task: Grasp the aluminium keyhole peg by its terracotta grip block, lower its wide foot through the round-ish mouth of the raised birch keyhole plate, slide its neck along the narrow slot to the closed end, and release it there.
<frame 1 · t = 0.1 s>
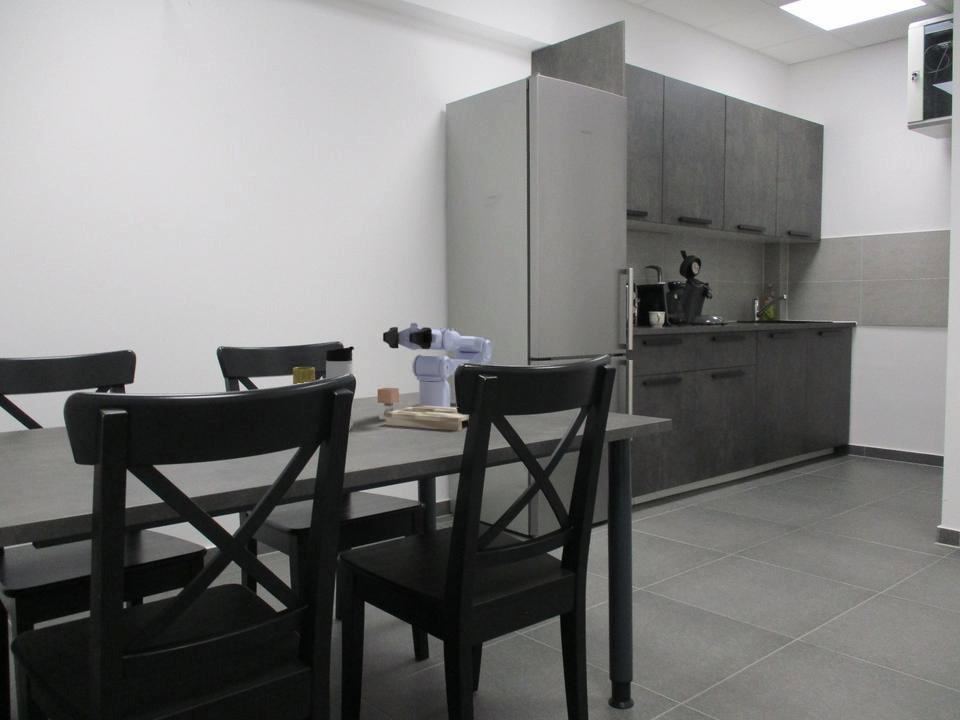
hand: (397, 337, 204), 22 cm above the table, tool horizontal, fingers open, 7 cm apart
keyhole peg: (388, 419, 209), on the table
travel mug: (340, 430, 192), on the table
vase: (304, 425, 199), on the table
keyhole plate: (436, 423, 203), on the table
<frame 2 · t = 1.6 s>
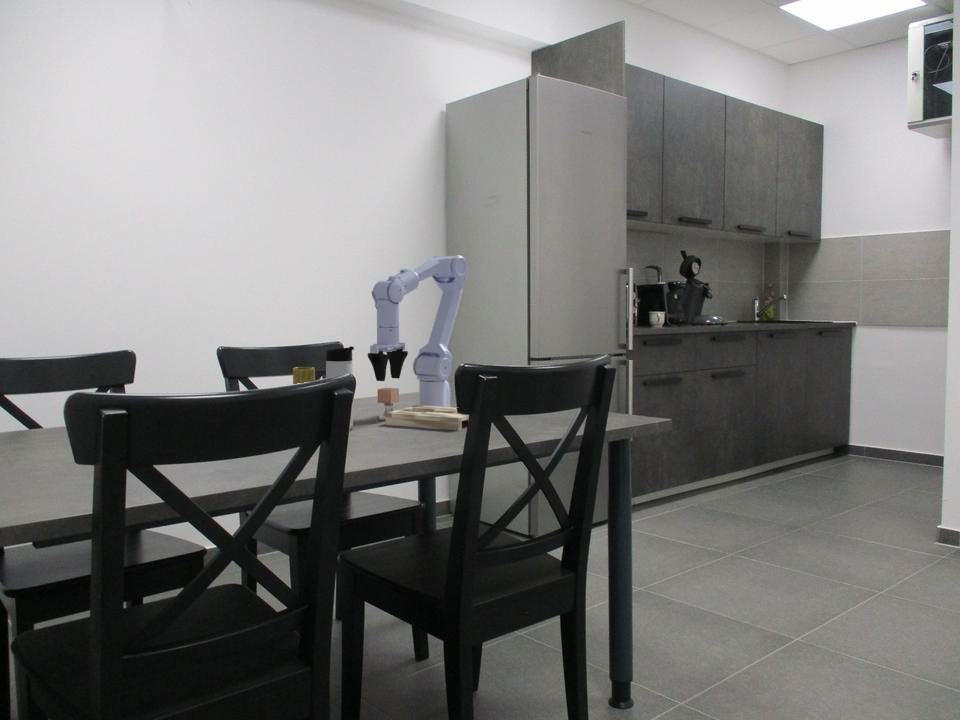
hand: (388, 379, 208), 10 cm above the table, tool pointing down, fingers open, 7 cm apart
nothing on the table moved.
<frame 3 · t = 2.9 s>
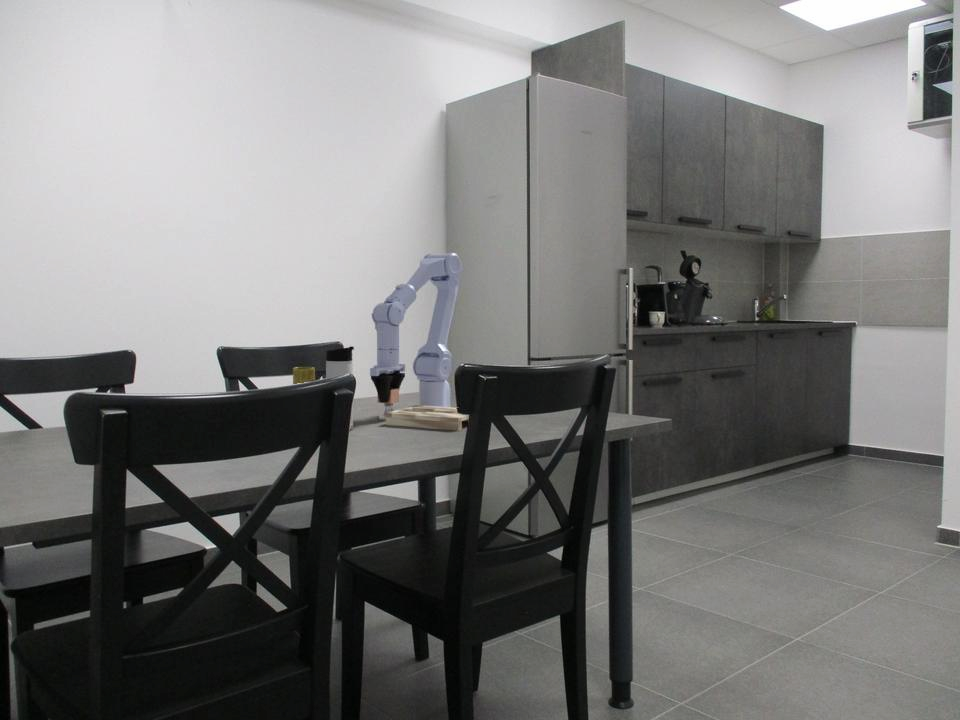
hand: (388, 401, 208), 5 cm above the table, tool pointing down, fingers closed on keyhole peg, 4 cm apart
keyhole peg: (388, 419, 209), on the table, touching gripper
everything else where it was.
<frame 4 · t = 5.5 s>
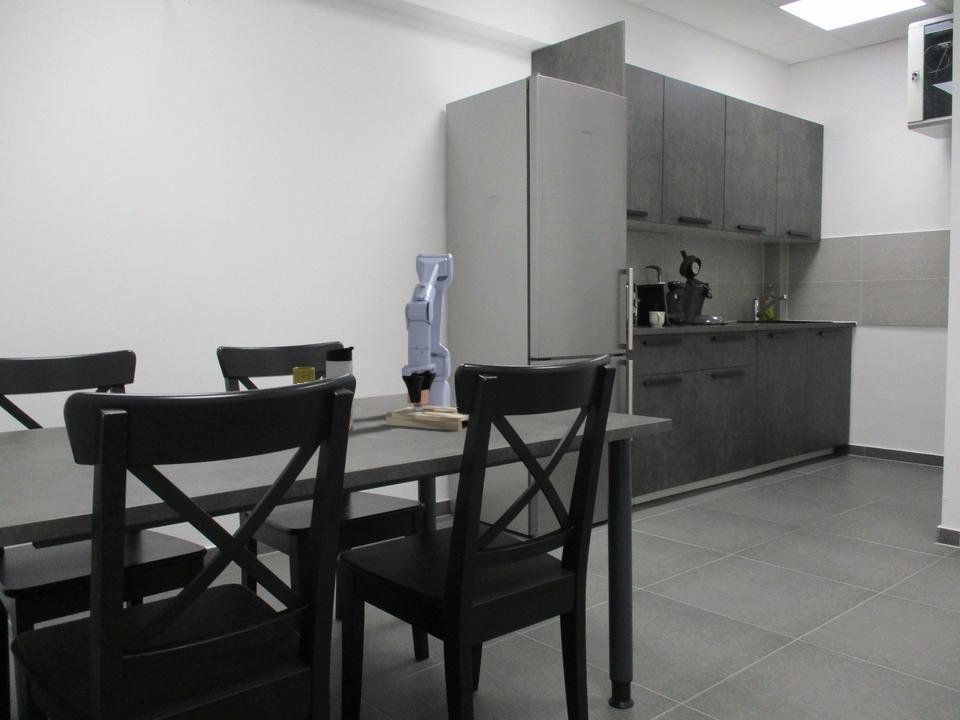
hand: (419, 401, 205), 5 cm above the table, tool pointing down, fingers closed on keyhole peg, 4 cm apart
keyhole peg: (417, 420, 205), on the table, touching gripper
everything else where it was.
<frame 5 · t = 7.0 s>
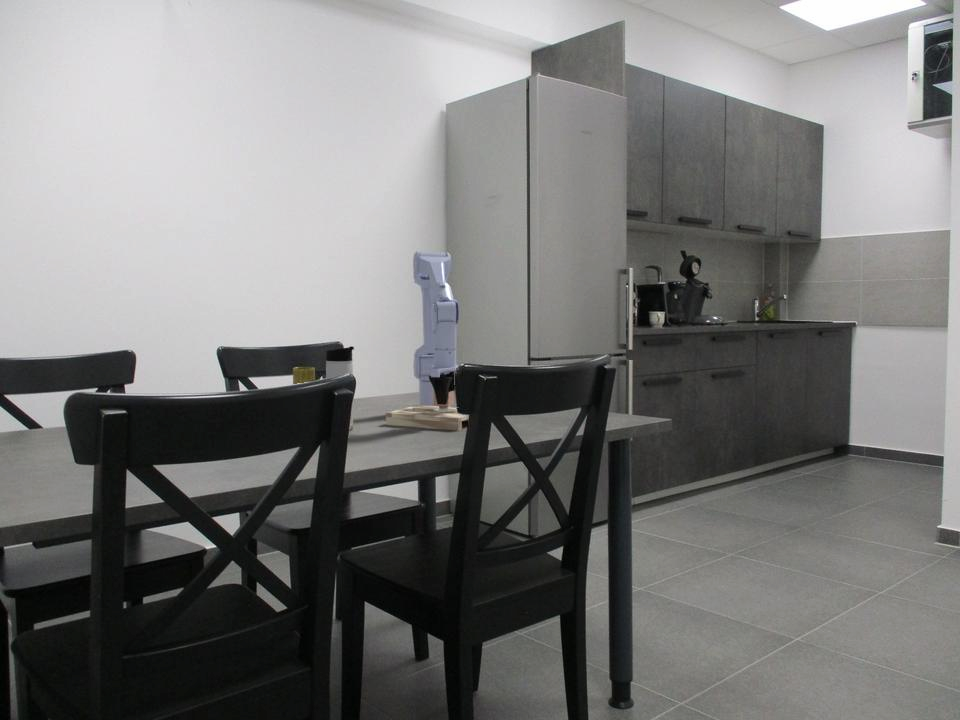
hand: (444, 403, 202), 5 cm above the table, tool pointing down, fingers closed on keyhole peg, 4 cm apart
keyhole peg: (443, 422, 202), on the table, touching gripper
everything else where it was.
when the fingers open (5 cm above the table, at t = 8.2 s): keyhole peg stays where it is, on the table.
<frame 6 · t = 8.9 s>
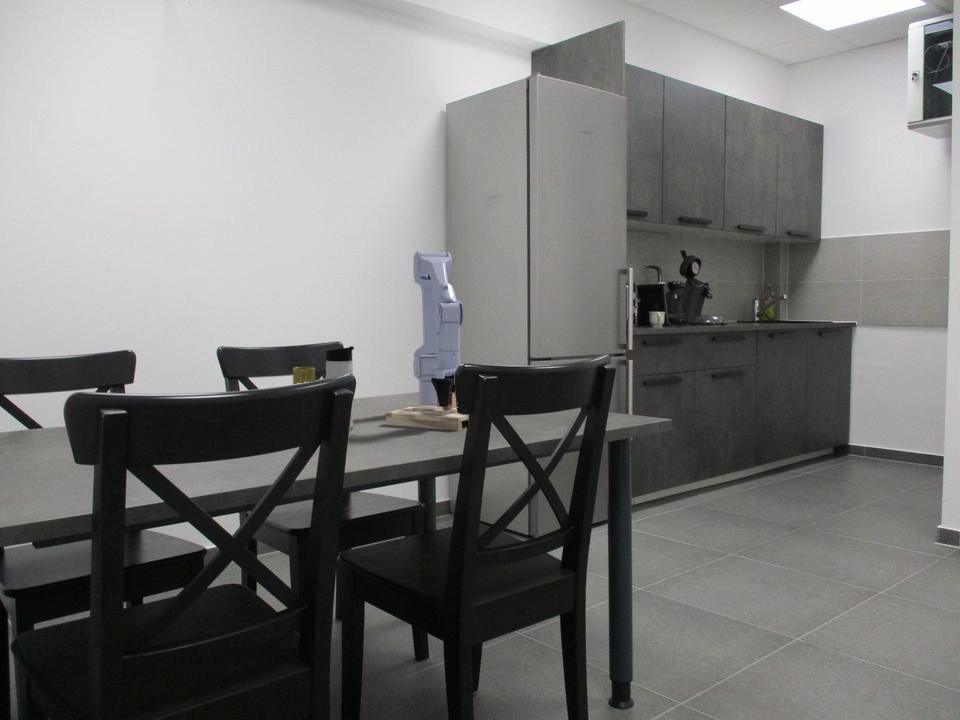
hand: (448, 404, 201), 5 cm above the table, tool pointing down, fingers open, 7 cm apart
keyhole peg: (447, 424, 202), on the table
everything else where it was.
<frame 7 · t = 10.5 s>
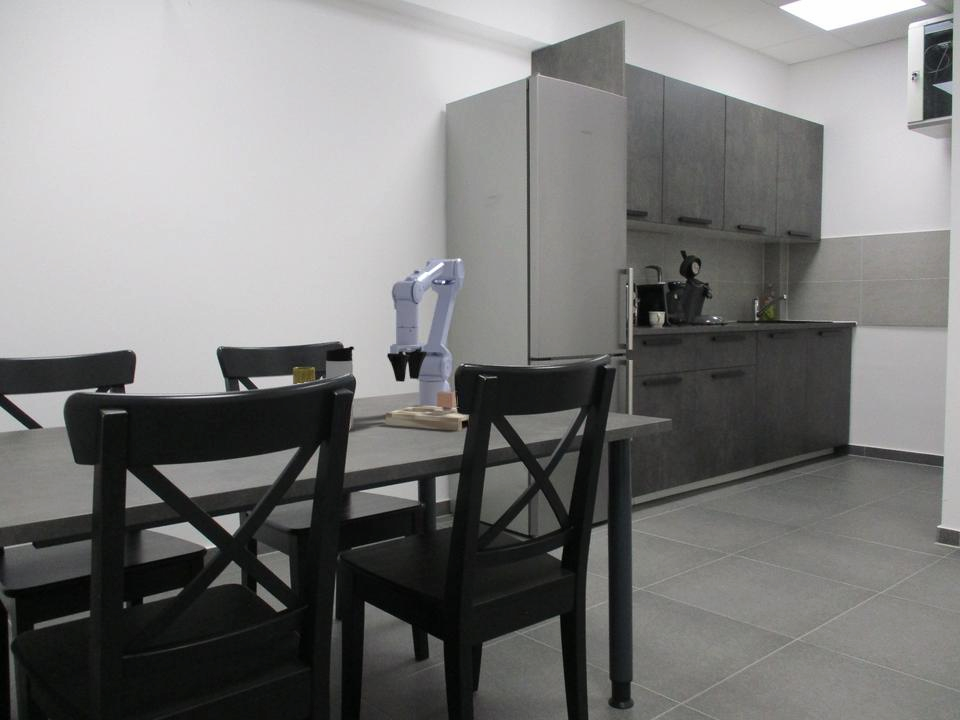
hand: (407, 380, 207), 10 cm above the table, tool pointing down, fingers open, 7 cm apart
nothing on the table moved.
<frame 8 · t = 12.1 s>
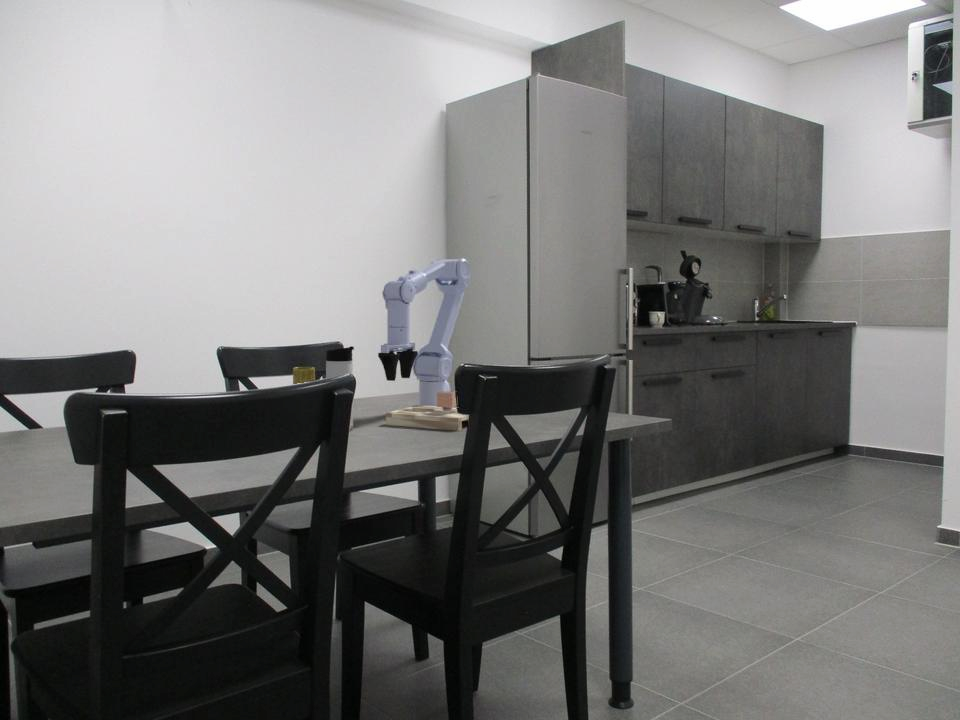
hand: (398, 379, 209), 10 cm above the table, tool pointing down, fingers open, 7 cm apart
nothing on the table moved.
at the end: keyhole peg 0.1 cm from the target spot on the keyhole plate, point 0.0 cm above the keyhole plate's base; keyhole peg tilted 0°; the gripper is holding nothing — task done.
